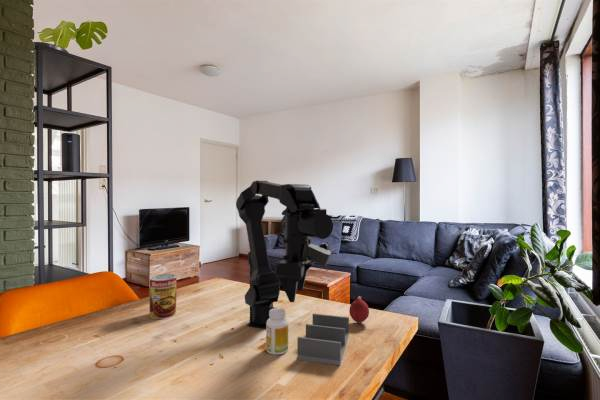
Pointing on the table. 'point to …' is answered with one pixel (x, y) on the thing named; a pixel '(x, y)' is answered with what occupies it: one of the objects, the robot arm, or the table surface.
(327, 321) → the rack
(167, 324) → the table surface
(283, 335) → the supplement bottle
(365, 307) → the onion
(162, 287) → the canned food
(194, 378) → the table surface
